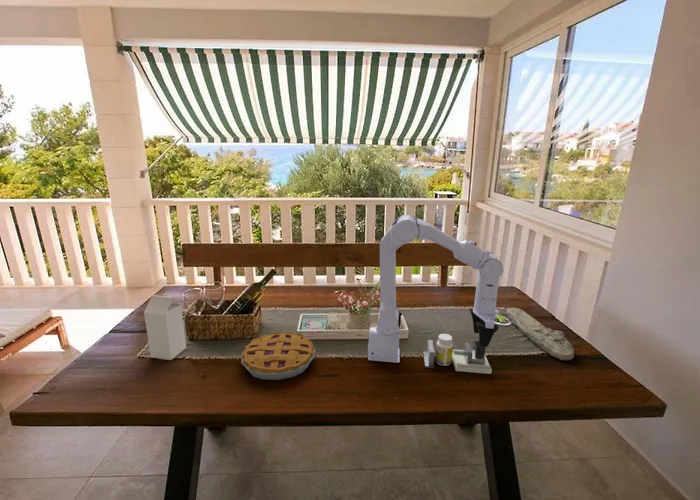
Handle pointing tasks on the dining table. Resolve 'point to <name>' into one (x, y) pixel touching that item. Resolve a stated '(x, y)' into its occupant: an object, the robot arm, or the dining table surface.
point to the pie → (278, 355)
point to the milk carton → (164, 327)
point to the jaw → (429, 355)
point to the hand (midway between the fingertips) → (480, 339)
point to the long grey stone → (541, 334)
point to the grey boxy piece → (474, 353)
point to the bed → (463, 366)
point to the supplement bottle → (444, 350)
